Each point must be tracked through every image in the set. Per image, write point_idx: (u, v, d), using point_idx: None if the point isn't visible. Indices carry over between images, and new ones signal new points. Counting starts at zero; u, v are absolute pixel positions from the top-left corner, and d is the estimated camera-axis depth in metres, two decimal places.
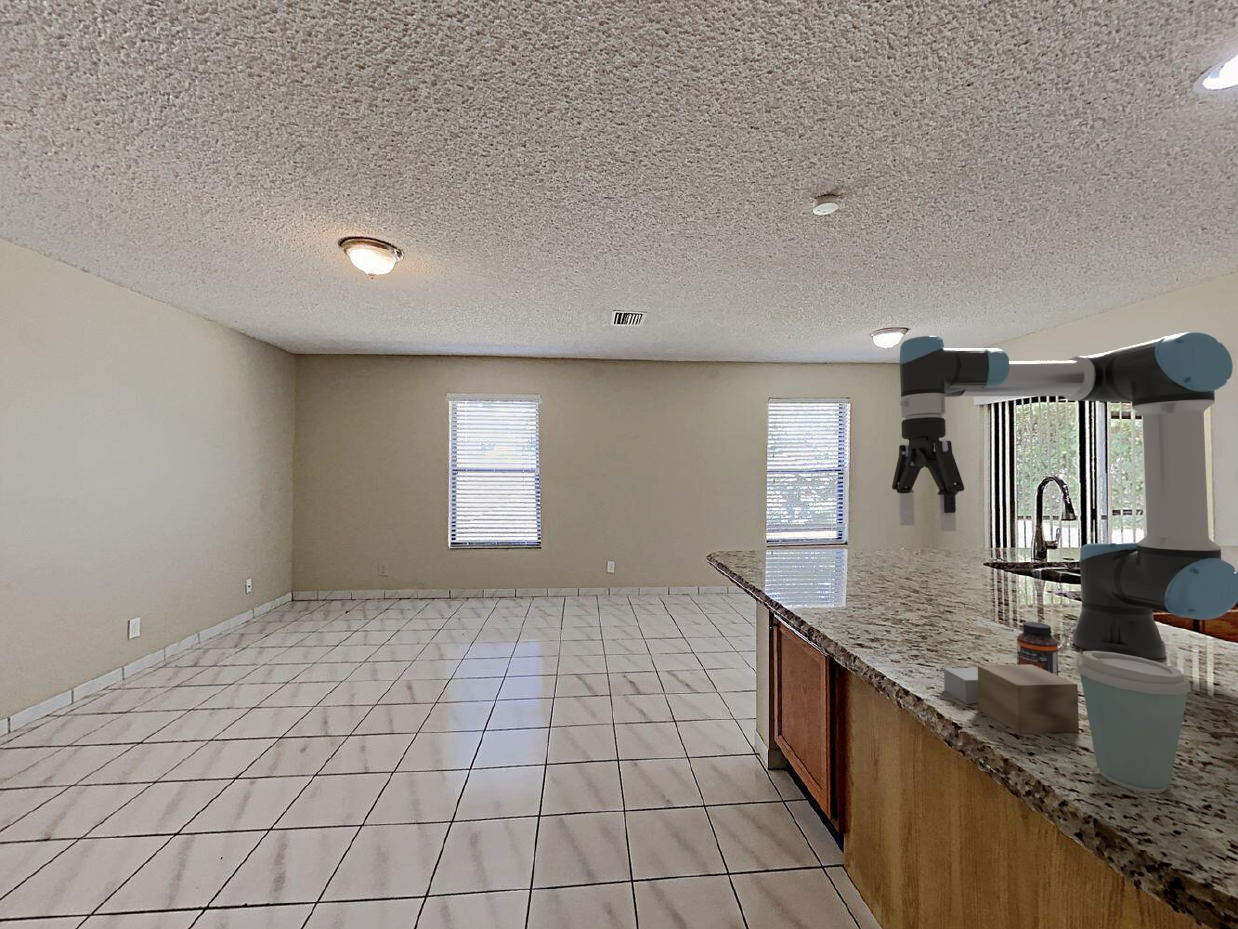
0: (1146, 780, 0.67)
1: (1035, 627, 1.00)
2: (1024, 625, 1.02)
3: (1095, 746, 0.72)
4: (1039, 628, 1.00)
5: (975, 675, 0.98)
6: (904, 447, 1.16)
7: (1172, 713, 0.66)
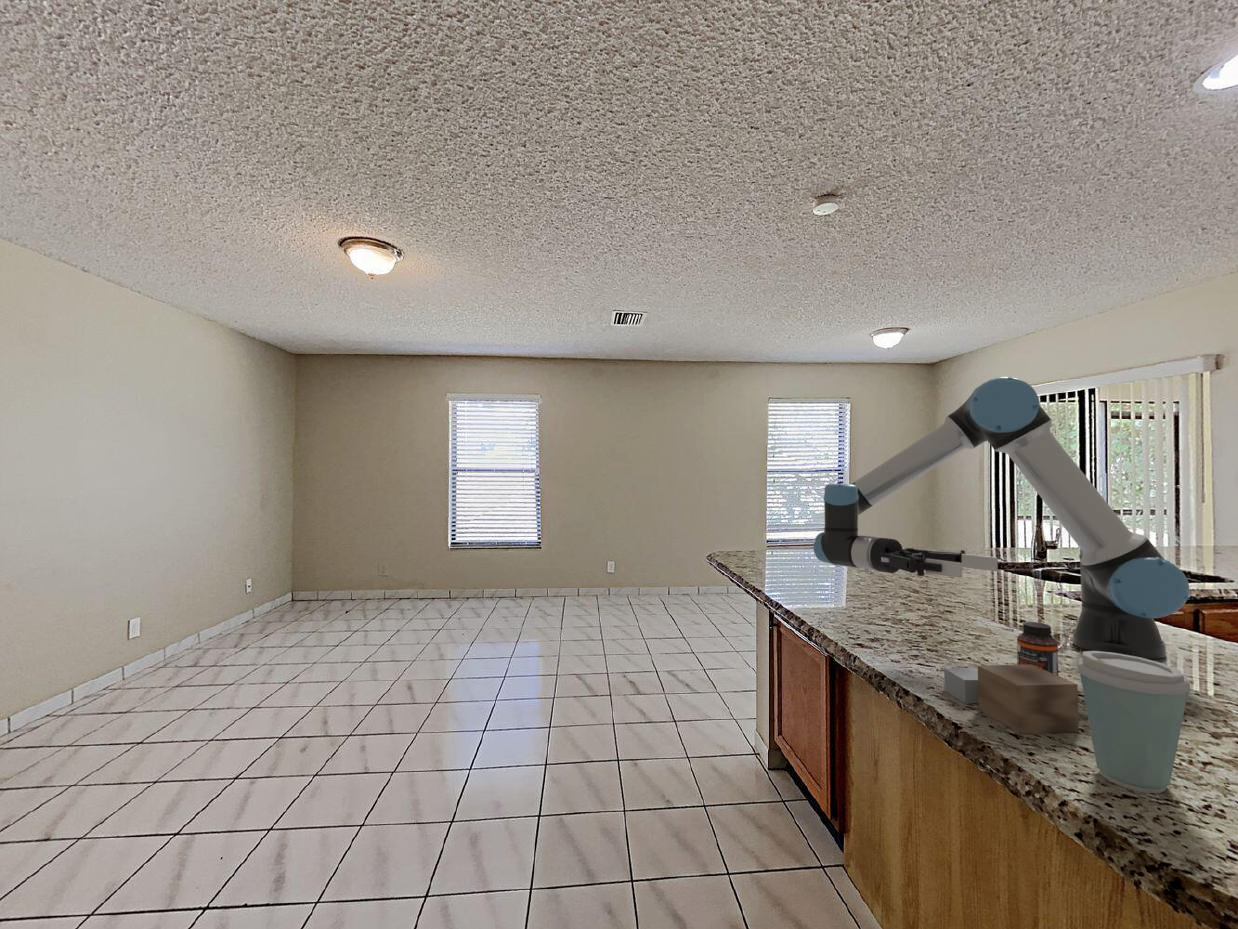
0: (1146, 780, 0.67)
1: (1035, 627, 1.00)
2: (1024, 625, 1.02)
3: (1095, 746, 0.72)
4: (1039, 628, 1.00)
5: (975, 675, 0.98)
6: None
7: (1172, 713, 0.66)
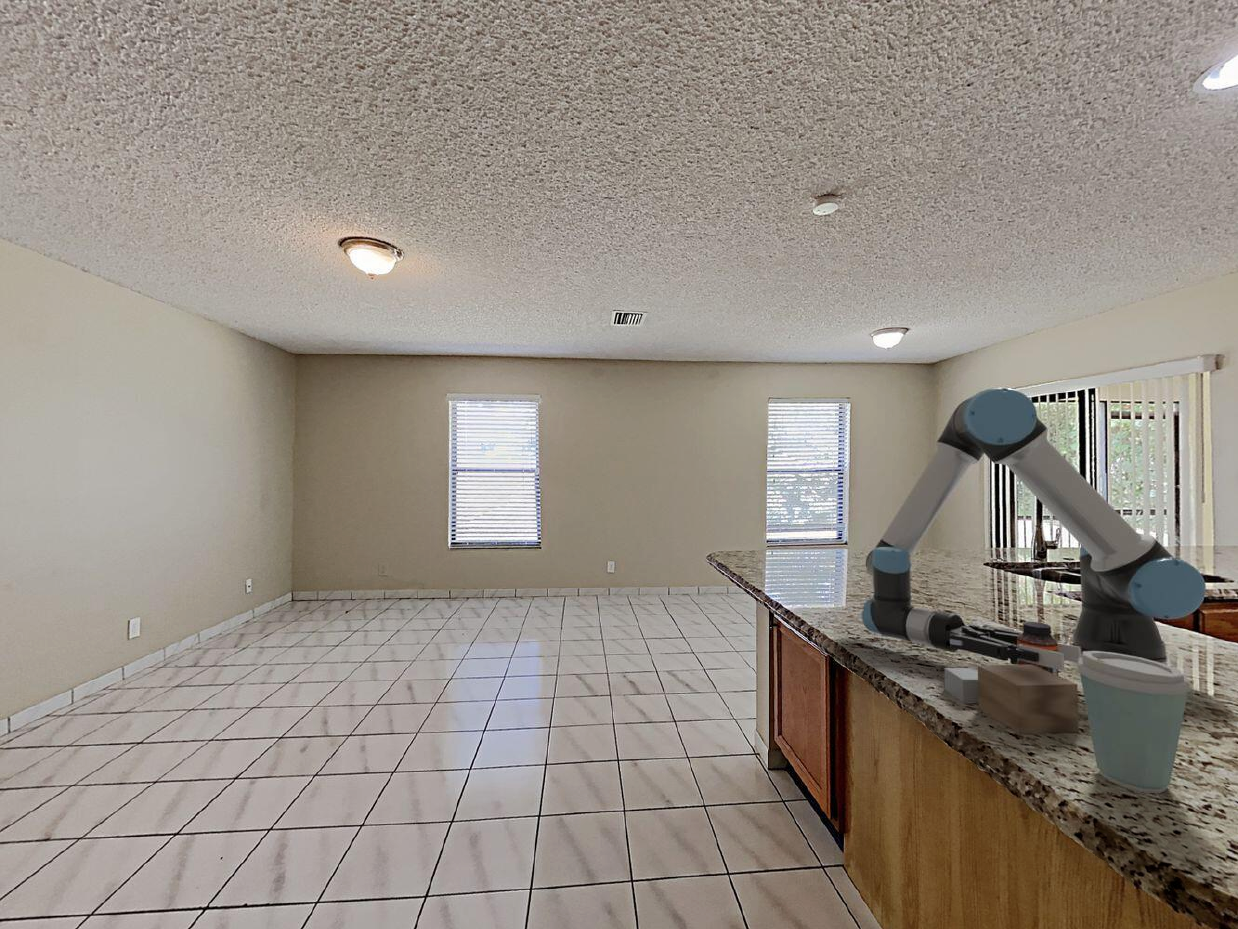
0: (1146, 780, 0.67)
1: (1035, 627, 1.00)
2: (1024, 625, 1.02)
3: (1095, 746, 0.72)
4: (1039, 628, 1.00)
5: (975, 675, 0.98)
6: None
7: (1172, 713, 0.66)
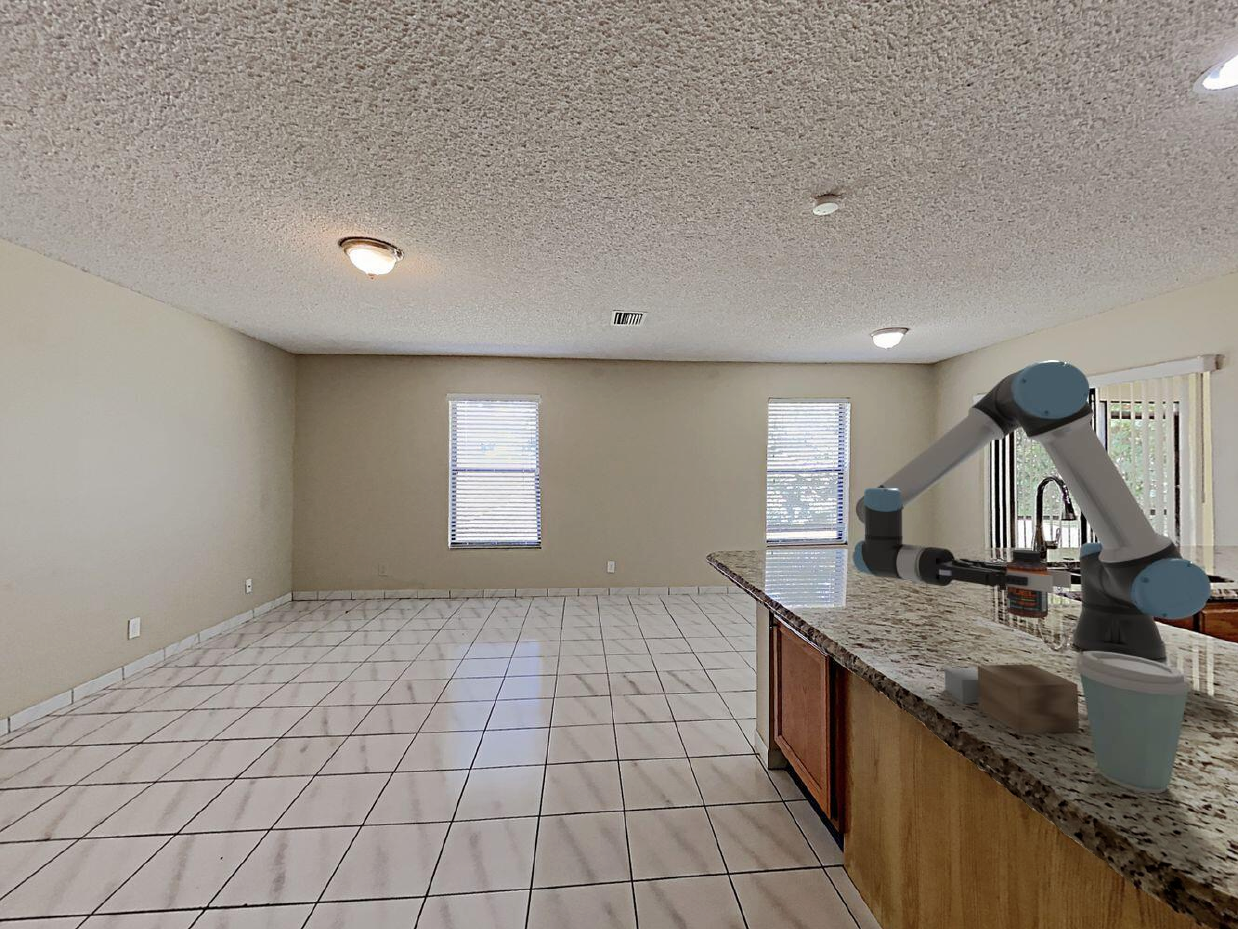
0: (1146, 780, 0.67)
1: (1024, 552, 0.99)
2: (1013, 552, 1.01)
3: (1095, 746, 0.72)
4: (1028, 553, 0.99)
5: (975, 675, 0.98)
6: None
7: (1172, 713, 0.66)
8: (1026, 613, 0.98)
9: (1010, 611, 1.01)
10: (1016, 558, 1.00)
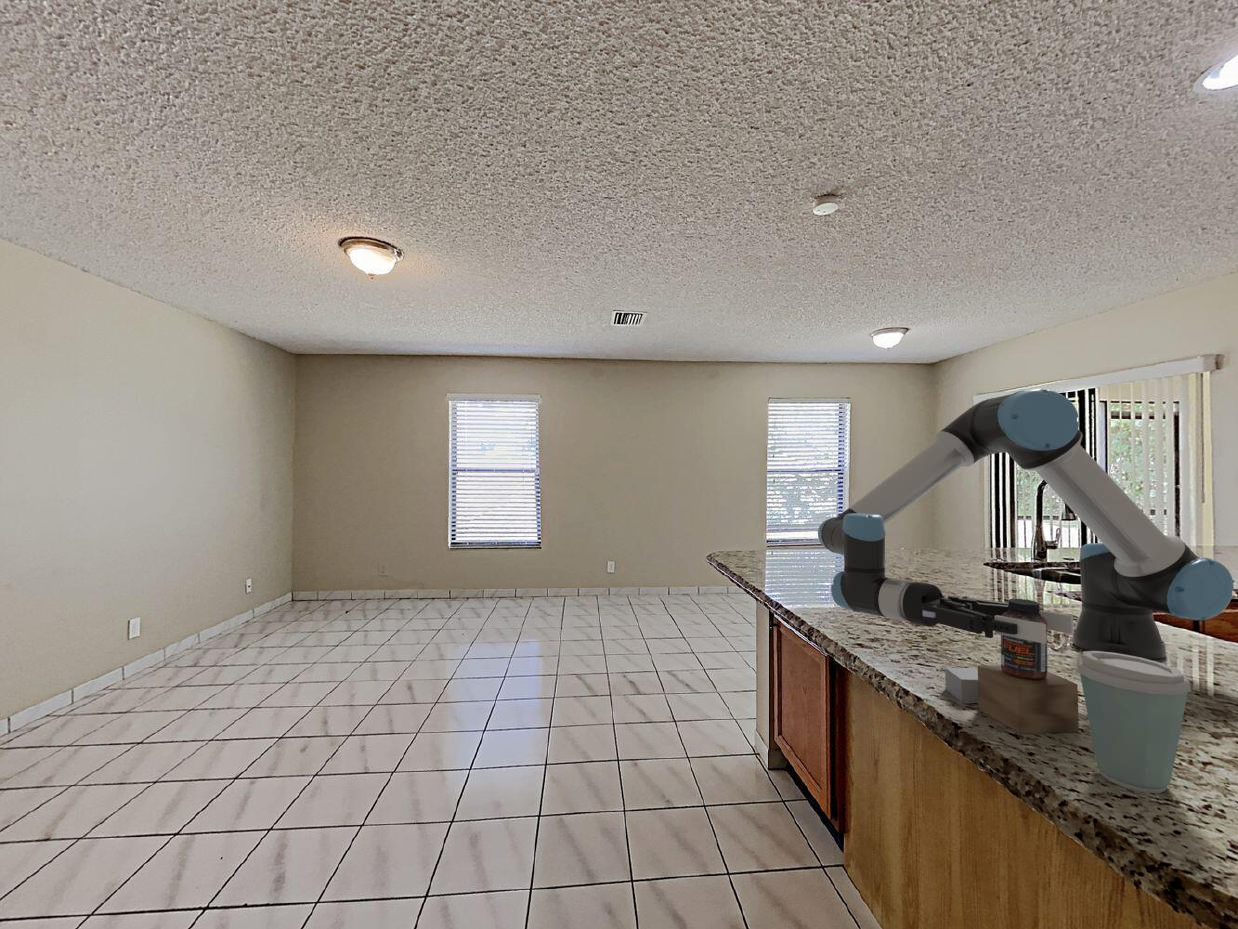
0: (1146, 780, 0.67)
1: (1021, 604, 0.87)
2: (1009, 602, 0.89)
3: (1095, 746, 0.72)
4: (1026, 605, 0.87)
5: (974, 675, 0.98)
6: None
7: (1172, 713, 0.66)
8: (1022, 673, 0.86)
9: (1004, 669, 0.88)
10: (1012, 609, 0.88)
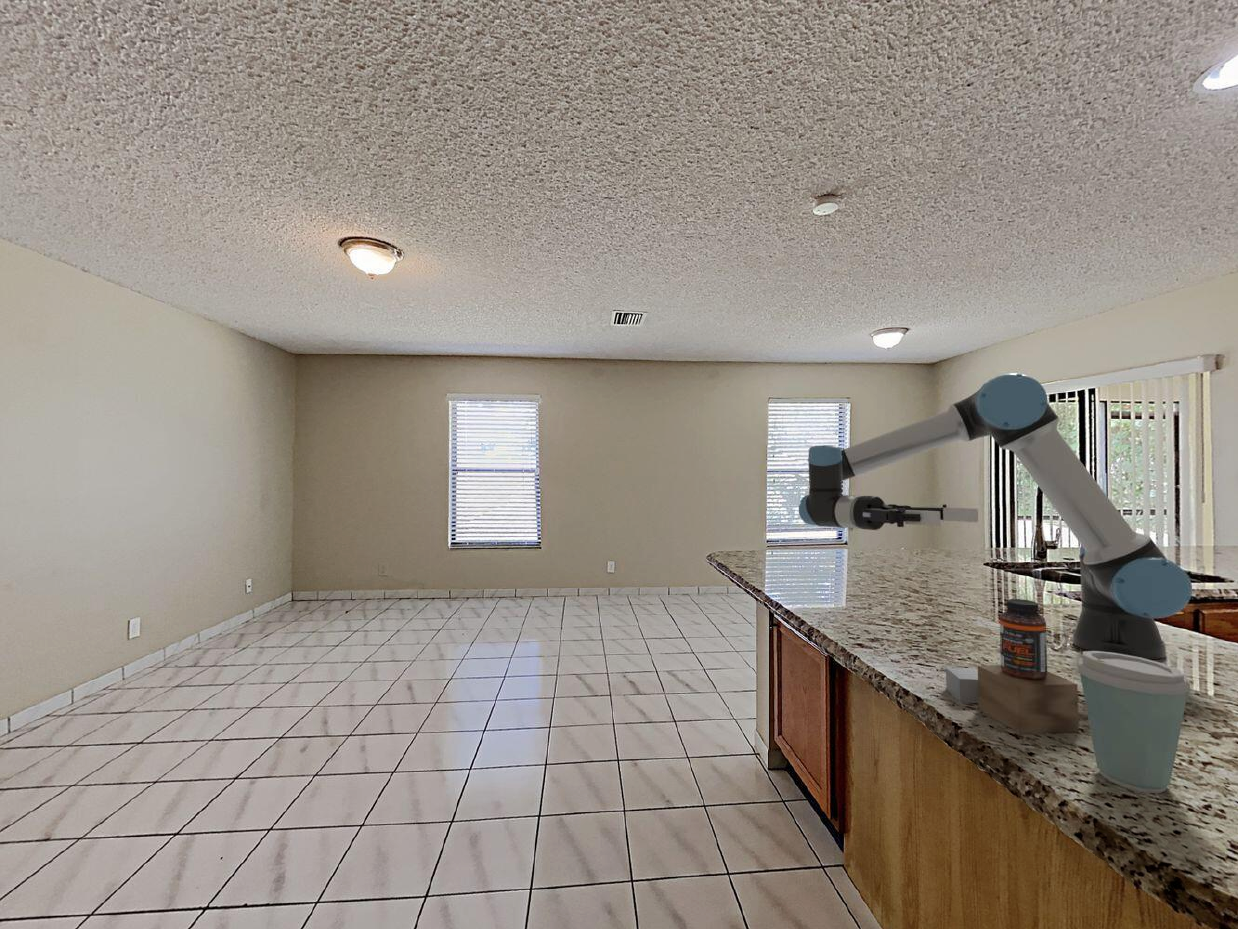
0: (1146, 780, 0.67)
1: (1020, 604, 0.87)
2: (1008, 602, 0.89)
3: (1095, 746, 0.72)
4: (1025, 605, 0.87)
5: (974, 675, 0.98)
6: None
7: (1172, 713, 0.66)
8: (1022, 674, 0.86)
9: (1004, 670, 0.88)
10: (1011, 610, 0.88)
